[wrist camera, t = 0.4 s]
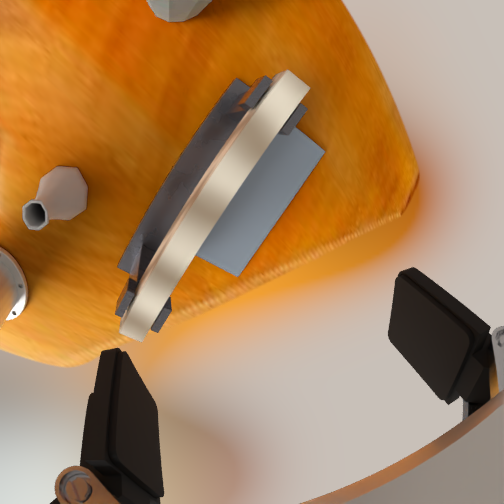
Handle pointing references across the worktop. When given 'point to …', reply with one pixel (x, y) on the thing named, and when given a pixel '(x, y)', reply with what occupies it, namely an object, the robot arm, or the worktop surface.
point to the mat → (260, 201)
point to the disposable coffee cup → (177, 9)
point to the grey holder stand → (189, 183)
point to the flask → (56, 198)
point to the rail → (211, 201)
